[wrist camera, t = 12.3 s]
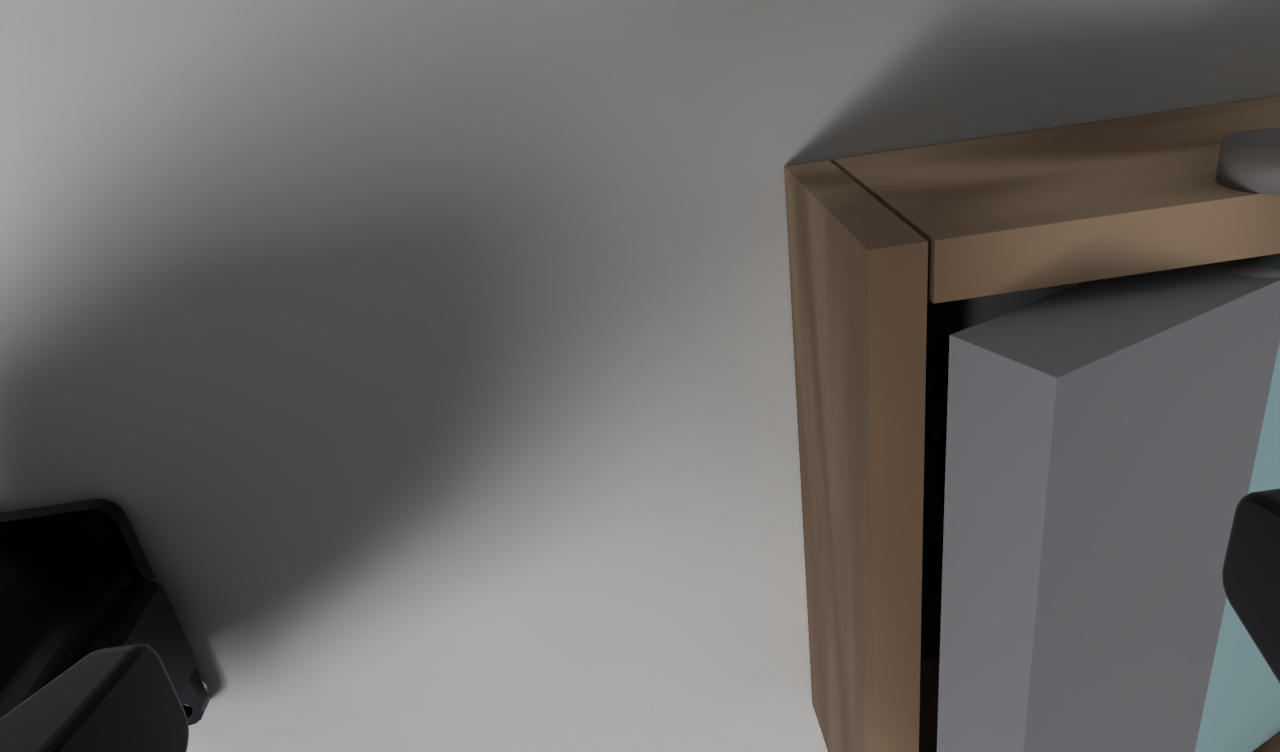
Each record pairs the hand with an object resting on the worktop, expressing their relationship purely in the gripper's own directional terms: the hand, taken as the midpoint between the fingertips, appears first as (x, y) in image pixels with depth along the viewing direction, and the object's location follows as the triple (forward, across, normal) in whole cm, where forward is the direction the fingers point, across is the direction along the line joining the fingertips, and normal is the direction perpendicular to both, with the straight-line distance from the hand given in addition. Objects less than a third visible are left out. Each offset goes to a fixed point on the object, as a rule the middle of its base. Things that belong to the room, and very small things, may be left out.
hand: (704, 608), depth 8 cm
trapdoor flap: (+9, -10, +7) cm, 15 cm away
